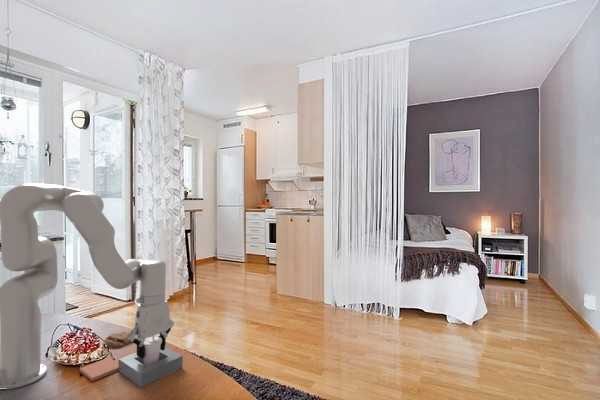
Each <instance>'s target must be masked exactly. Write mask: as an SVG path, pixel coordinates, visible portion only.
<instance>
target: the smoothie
mask: <svg viewBox="0 0 600 400" xmlns="http://www.w3.org/2000/svg"><path fill="white" fill-rule="evenodd" d="M161 343H162V338H161V337H158V336H156V335H154V336H151V337H148V338H146V339H145V341H144V344H143V345H144V346H145V357H144V358H143V360H144V365H145V366H148V365H150V364H152V363H155V362H157V361H158V359H159V353H160V347H161Z"/></svg>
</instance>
